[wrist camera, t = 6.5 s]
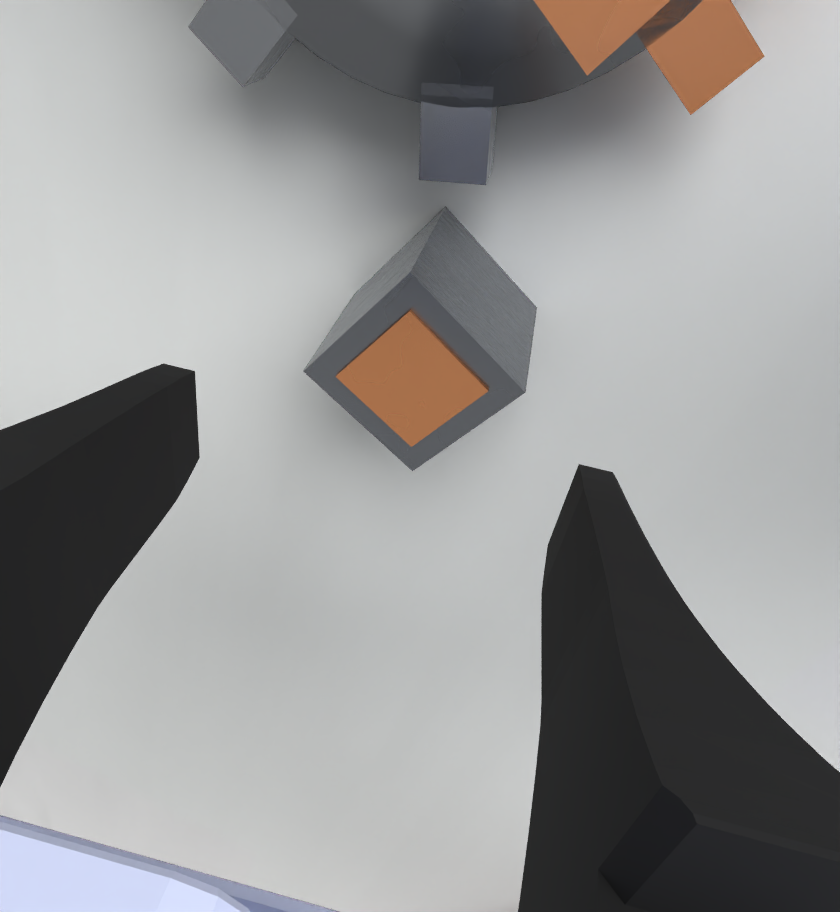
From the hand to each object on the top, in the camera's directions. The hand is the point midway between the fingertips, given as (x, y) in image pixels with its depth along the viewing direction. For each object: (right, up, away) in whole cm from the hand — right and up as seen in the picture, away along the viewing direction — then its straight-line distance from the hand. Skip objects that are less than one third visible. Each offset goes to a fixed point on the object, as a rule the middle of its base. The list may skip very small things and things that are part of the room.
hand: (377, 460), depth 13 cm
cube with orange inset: (+1, +4, +6) cm, 7 cm away
